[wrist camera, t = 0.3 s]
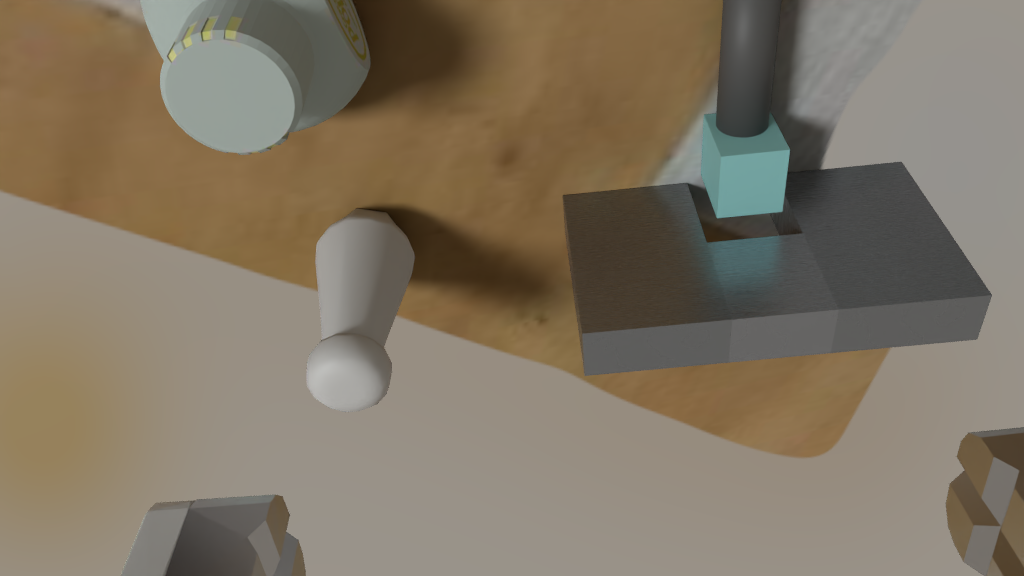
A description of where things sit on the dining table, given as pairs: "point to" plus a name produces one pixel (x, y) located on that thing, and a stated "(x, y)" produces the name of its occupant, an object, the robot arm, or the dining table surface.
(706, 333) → the block
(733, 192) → the plug
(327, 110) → the air freshener
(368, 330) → the salt shaker
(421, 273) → the dining table surface
